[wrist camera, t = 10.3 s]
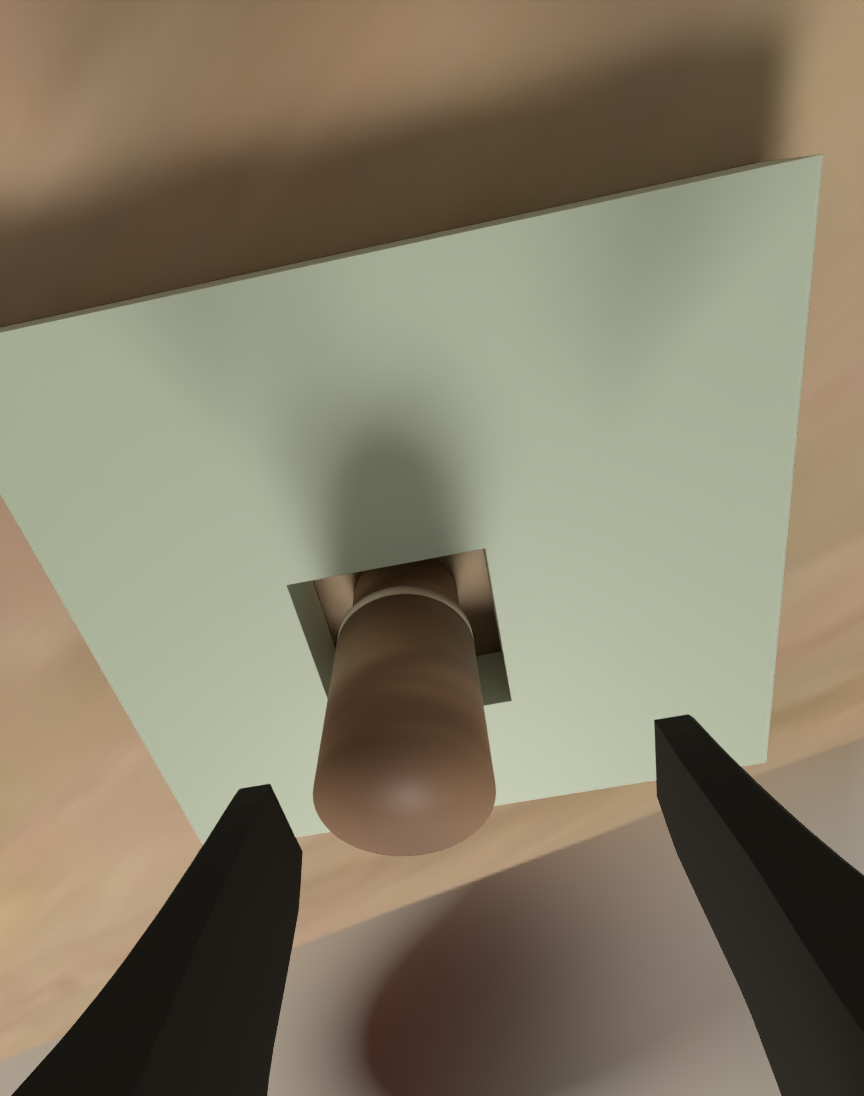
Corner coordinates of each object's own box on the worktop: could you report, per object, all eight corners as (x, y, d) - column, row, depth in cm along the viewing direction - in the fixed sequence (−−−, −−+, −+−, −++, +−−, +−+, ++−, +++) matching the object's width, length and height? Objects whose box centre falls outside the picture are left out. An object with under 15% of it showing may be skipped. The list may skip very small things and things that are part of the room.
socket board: (762, 161, 15) (823, 154, 13) (733, 711, 24) (766, 762, 21) (-17, 331, 16) (-83, 350, 14) (224, 794, 25) (206, 851, 23)
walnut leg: (456, 534, 20) (484, 716, 13) (473, 635, 22) (505, 843, 15) (332, 554, 20) (290, 745, 13) (360, 653, 22) (337, 866, 15)
